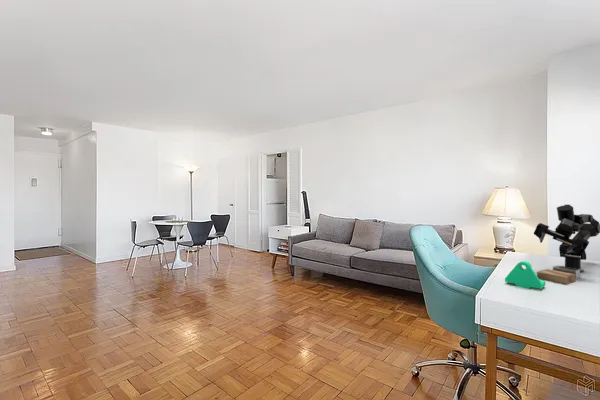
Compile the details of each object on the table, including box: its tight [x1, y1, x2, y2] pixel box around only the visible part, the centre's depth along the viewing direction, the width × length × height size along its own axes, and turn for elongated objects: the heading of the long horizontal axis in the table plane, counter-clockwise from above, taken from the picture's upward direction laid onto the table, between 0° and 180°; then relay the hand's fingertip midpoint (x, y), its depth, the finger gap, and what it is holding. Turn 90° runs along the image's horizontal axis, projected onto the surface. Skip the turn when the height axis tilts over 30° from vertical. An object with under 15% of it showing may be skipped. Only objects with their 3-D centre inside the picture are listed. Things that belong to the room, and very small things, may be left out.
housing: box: [552, 265, 581, 280], centre depth 135 cm, size 5×8×4 cm, turn 32°
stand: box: [536, 268, 577, 286], centre depth 130 cm, size 10×10×3 cm
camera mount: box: [504, 260, 546, 290], centre depth 123 cm, size 12×8×10 cm, turn 40°
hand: (553, 246), depth 132 cm, fingers open, 9 cm apart
